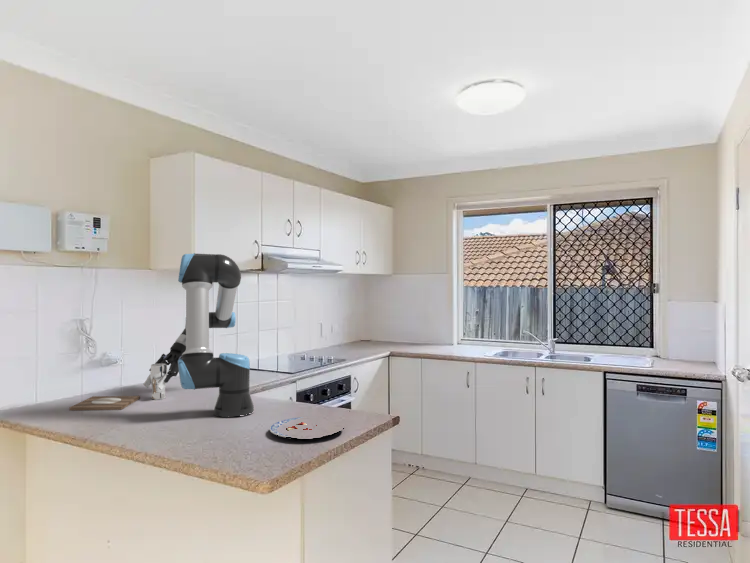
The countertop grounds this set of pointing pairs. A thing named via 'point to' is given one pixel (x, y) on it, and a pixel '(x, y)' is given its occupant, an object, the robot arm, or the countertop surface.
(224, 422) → the countertop surface
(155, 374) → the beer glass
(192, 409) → the countertop surface
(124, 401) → the walnut board
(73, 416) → the countertop surface
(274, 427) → the ceramic plate
